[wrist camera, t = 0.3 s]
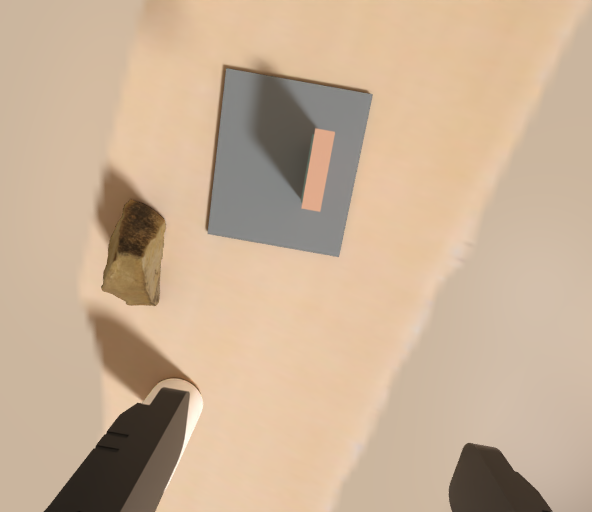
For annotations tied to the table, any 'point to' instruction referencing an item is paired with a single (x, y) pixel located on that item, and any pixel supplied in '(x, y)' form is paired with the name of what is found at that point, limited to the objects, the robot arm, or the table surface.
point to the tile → (317, 169)
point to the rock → (135, 256)
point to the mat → (284, 161)
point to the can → (193, 408)
